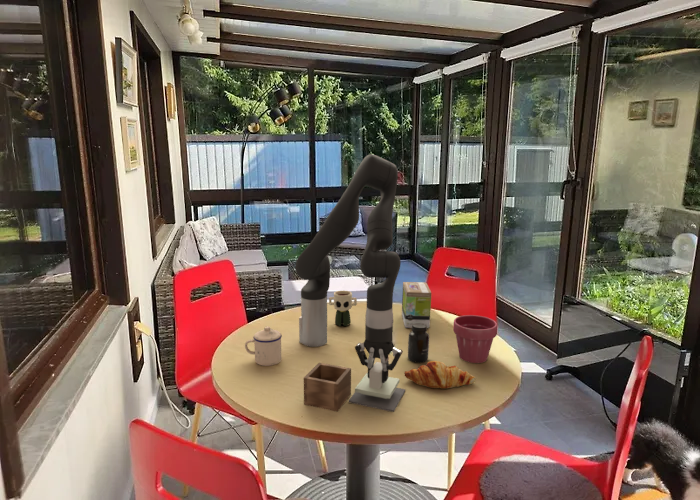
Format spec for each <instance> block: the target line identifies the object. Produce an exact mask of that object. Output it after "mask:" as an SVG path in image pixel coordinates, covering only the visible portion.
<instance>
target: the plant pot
mask: <svg viewBox="0 0 700 500" xmlns="http://www.w3.org/2000/svg"><path fill="white" fill-rule="evenodd" d="M452 329H453V333H454V334H455V337H456V344H457V348H458V349H457V350H458V355H459V358H460V359H461V360H462V361H464V362H466V363H471V364H482V363H485V362H487V360H488V357H489V354H490V351H491V348H492V345H493V341H494V339H495V338H496V337H497V334H498V323H497V322H496V321H495V320H494V319H493V318H489V317H488V316H485V315H484V316H482V315H474V314H467V315H466V314H465V315H460V316H457V317H456V318H454V320H453V327H452Z"/></svg>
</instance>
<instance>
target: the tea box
mask: <svg viewBox="0 0 700 500" xmlns="http://www.w3.org/2000/svg"><path fill="white" fill-rule="evenodd" d="M401 300H402V301H401V317H402V321H403V325H404V328H406V329H408V328H409V329H412V324H414V323H424V324H426V325H427V329H430V324H431V310H432V309H431V308H432V291H431V289H430V287H429V285H428V283H427V282H425V281H424V282H421V281H420V282H417V281H415V282H414V281H403V282H402V299H401Z"/></svg>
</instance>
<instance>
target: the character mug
mask: <svg viewBox="0 0 700 500" xmlns="http://www.w3.org/2000/svg"><path fill="white" fill-rule="evenodd" d="M332 300H333V302H332ZM357 300H358V299H357V297H353V293H352V291H349V290H336V291H334V292H333V296H329V297H328V304H329V306H333V307H334V309H335V310H336V312H335V318H334V323H335V326H341V327H342V325H343V327H344V326H350V325H351V321H352V320H351V314H350V311H349V310H352V307H353V306H354V307H356V306H357V304H358V303H357V302H358V301H357Z"/></svg>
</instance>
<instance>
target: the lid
mask: <svg viewBox="0 0 700 500" xmlns="http://www.w3.org/2000/svg"><path fill="white" fill-rule="evenodd" d="M382 371H383V369H382V364H381V361H379V362H378V361H376V362H374V365H373V367H372V368H371V370H370V373H369V378H368V372H366V373H365V375H364V376H363V377H362V379H360V381H359V382H358V384H357V385H356V386H355V388H354V393H355V392H358V393H361V394H364V395H369V396H374V397H379V398H385V399H387V398H389V399H390V397H391V396H392V394H393V392H394V391H395V389H396V388H398V385H399V384H400V380H401V379H400V378H398V377H392V376H388V379H387V381H385V383H382Z"/></svg>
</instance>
